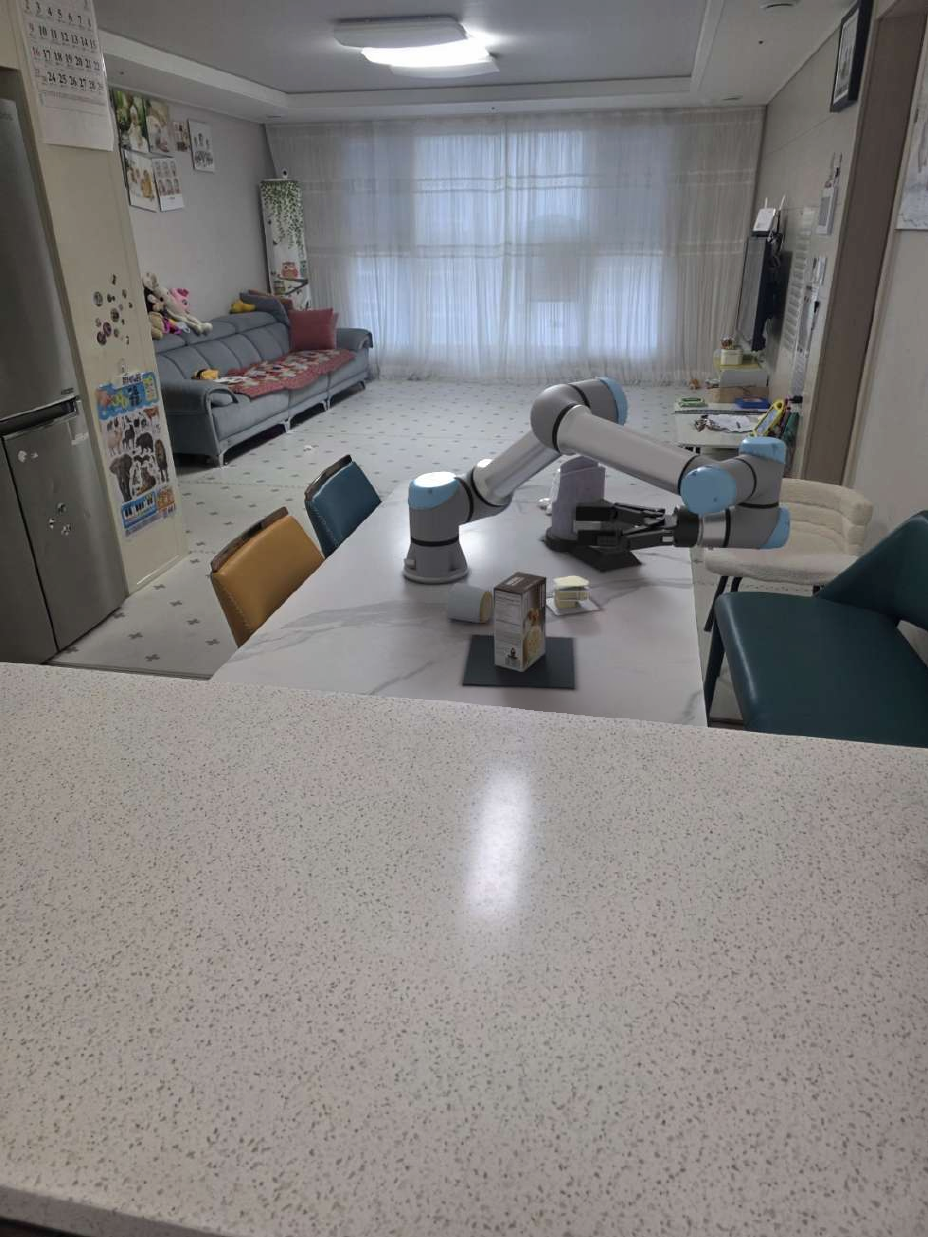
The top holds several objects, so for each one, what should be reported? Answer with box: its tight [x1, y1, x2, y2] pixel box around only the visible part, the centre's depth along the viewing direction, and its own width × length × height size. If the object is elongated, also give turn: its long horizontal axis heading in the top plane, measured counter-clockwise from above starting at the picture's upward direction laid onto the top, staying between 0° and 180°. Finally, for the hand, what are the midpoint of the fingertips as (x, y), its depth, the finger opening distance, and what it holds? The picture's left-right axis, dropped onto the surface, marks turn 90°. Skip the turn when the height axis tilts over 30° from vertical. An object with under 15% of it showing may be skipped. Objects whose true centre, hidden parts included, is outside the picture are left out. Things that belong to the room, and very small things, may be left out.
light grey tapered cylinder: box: [446, 582, 494, 624], centre depth 174 cm, size 11×8×8 cm
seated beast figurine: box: [539, 468, 560, 515], centre depth 240 cm, size 10×9×12 cm
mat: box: [462, 634, 575, 690], centre depth 157 cm, size 20×20×1 cm
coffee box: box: [493, 571, 548, 672], centre depth 154 cm, size 9×6×16 cm
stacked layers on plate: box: [546, 575, 600, 616], centre depth 179 cm, size 10×9×6 cm
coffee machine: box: [540, 455, 643, 573], centre depth 206 cm, size 30×16×24 cm, turn 25°
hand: (576, 524), depth 149 cm, fingers open, 13 cm apart
